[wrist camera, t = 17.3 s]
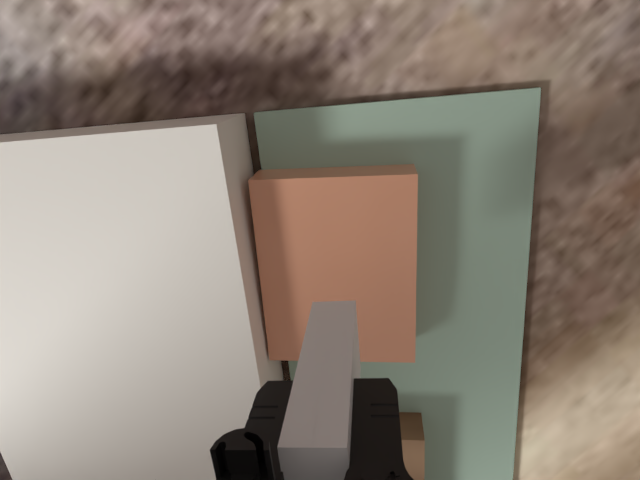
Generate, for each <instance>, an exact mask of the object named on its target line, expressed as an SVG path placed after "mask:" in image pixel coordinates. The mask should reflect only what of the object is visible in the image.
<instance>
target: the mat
mask: <svg viewBox="0 0 640 480" xmlns="http://www.w3.org/2000/svg"><path fill="white" fill-rule="evenodd" d="M540 96H541V88H539V87H535V88H524V89H513V90H501V91H490V92H478V93H467V94H456V95H444V96H433V97H421V98H410V99H399V100H387V101H376V102H364V103H353V104H342V105H330V106H319V107H307V108H296V109H285V110H273V111H262V112H255V113H254V120H255V127H256V135H257V142H258V149H259V156H260V163H261V170H267V169H294V168H320V167H347V166H374V165H400V164H414V165H415V168H416V170H417V173H418V203H417V275H416V346H415V363H402V362H360V365H361V372H360V378H389V379H390V380H391V382H392V383H393V385H394V386H395V387H396V389H397V393H398V405H399V412H417V413H421V415H422V423H423V431H424V438H425V475H424V480H513V470H514V456H515V443H516V429H517V415H518V401H519V387H520V373H521V359H522V345H523V332H524V318H525V304H526V290H527V276H528V262H529V248H530V235H531V221H532V207H533V193H534V179H535V165H536V151H537V137H538V124H539V110H540ZM288 364H289V371H290V378H291V380H294V377H295V372H296V368H297V364H298V361H288Z"/></svg>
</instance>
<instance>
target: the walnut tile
mask: <svg viewBox="0 0 640 480" xmlns="http://www.w3.org/2000/svg"><path fill="white" fill-rule="evenodd" d="M399 417H400V428H401V439H402V451H403V461H404V465H405V468H406V470H407V472H408V473H409V475H410V476H411V477H412V478H413V479H414V480H424V475H425V438H424V431H423V423H422V415H421V413H417V412H399Z"/></svg>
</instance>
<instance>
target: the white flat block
mask: <svg viewBox="0 0 640 480" xmlns="http://www.w3.org/2000/svg"><path fill="white" fill-rule="evenodd" d="M253 175H254V172H253V165H252V158H251V151H250V144H249V138H248V131H247V124H246V117H245V113H239V114H228V115H216V116H205V117H193V118H182V119H171V120H159V121H148V122H137V123H125V124H114V125H102V126H91V127H80V128H68V129H57V130H45V131H34V132H23V133H11V134H0V452H1V455H2V457H3V459H4V461H5V464H6V466H7V468H8V471H9V473H10V475H11V478H12V480H216V476H215V472H214V467H213V463H212V458H211V454H210V449H211V447H212V446H213V444H214V443H215V441H216V440H218V439H219V438H220V437H221V436H223V435H224V434H226V433H228V432H230V431H233V430H235V429H241V428H245V425H246V422H247V420H248V416H249V414H250V411H251V408H252V405H253V402H254V399H255V396H256V393H257V392H258V391H259V390H260V389H261V387H262V386H263V385H264V384H265V383H266V382H267V381H284V378H283V371H282V364H281V360H270V359H269V351H268V343H267V334H266V326H265V317H264V309H263V301H262V292H261V284H260V276H259V267H258V259H257V251H256V242H255V234H254V226H253V217H252V209H251V200H250V192H249V184H248V180H249V179H250V178H251V177H252V176H253Z"/></svg>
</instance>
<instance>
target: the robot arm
mask: <svg viewBox="0 0 640 480" xmlns="http://www.w3.org/2000/svg"><path fill="white" fill-rule="evenodd" d="M360 372H361V365H360V352H359V338H358V324H357V311H356V300H355V301H326V302H312V307H311V311H310V315H309V319H308V323H307V327H306V331H305V335H304V340H303V344H302V348H301V352H300V356H299V360H298V364H297V368H296V372H295V377H294V380H287V381H267V382H266V383H265V384H264V385H263V386H262V387H261V389H260V390H259V391H258V392H257V393H256V396H255V399H254V402H253V405H252V408H251V411H250V414H249V416H248V420H247V422H246V425H245V428H241V429H235V430H233V431H230V432H228V433H226V434H224V435H223V436H221V437H220V438H219V439H218V440H216V441H215V443H214V444H213V446H212V447H211V449H210V454H211V458H212V463H213V467H214V472H215V476H216V480H414V479H413V478H412V477H411V476H410V475H409V473H408V472H407V470H406V468H405V465H404V461H403V451H402V439H401V428H400V417H399V405H398V393H397V389H396V387H395V386H394V385H393V383H392V382H391V380H390V379H389V378H360Z"/></svg>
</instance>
